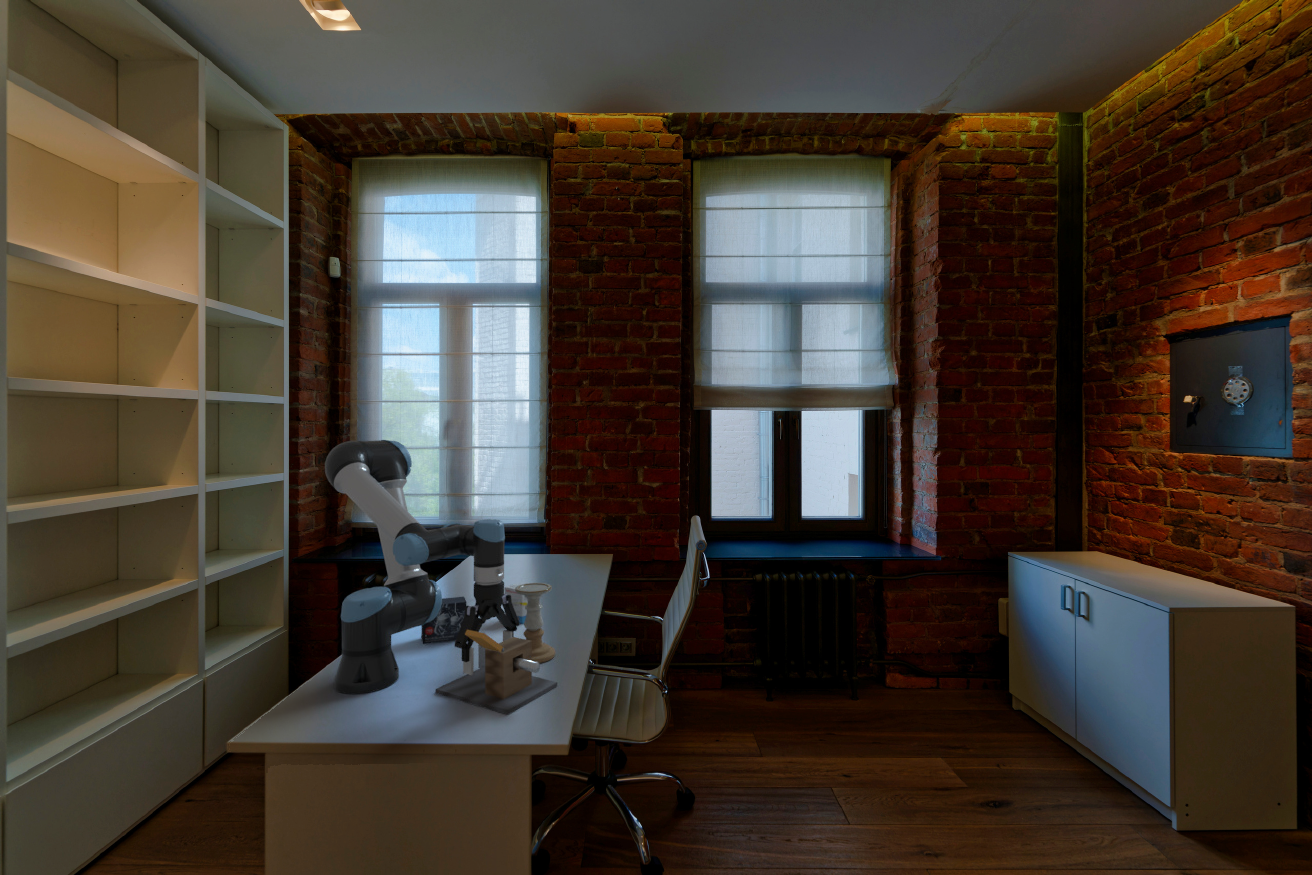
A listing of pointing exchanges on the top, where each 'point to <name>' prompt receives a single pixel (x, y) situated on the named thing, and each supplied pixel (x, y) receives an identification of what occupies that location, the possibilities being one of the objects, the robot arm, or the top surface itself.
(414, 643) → the top surface
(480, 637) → the plate
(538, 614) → the candle holder
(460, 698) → the hitch block
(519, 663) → the lynch pin
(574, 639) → the top surface
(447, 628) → the small box
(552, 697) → the top surface
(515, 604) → the ink box
